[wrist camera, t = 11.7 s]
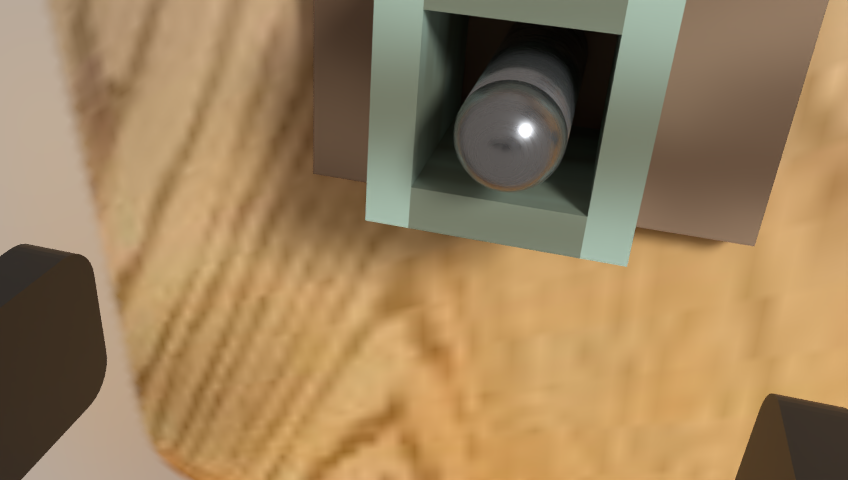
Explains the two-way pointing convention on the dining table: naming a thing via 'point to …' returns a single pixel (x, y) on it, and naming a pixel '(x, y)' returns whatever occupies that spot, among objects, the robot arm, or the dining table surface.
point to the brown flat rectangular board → (680, 117)
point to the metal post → (522, 108)
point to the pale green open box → (586, 149)
